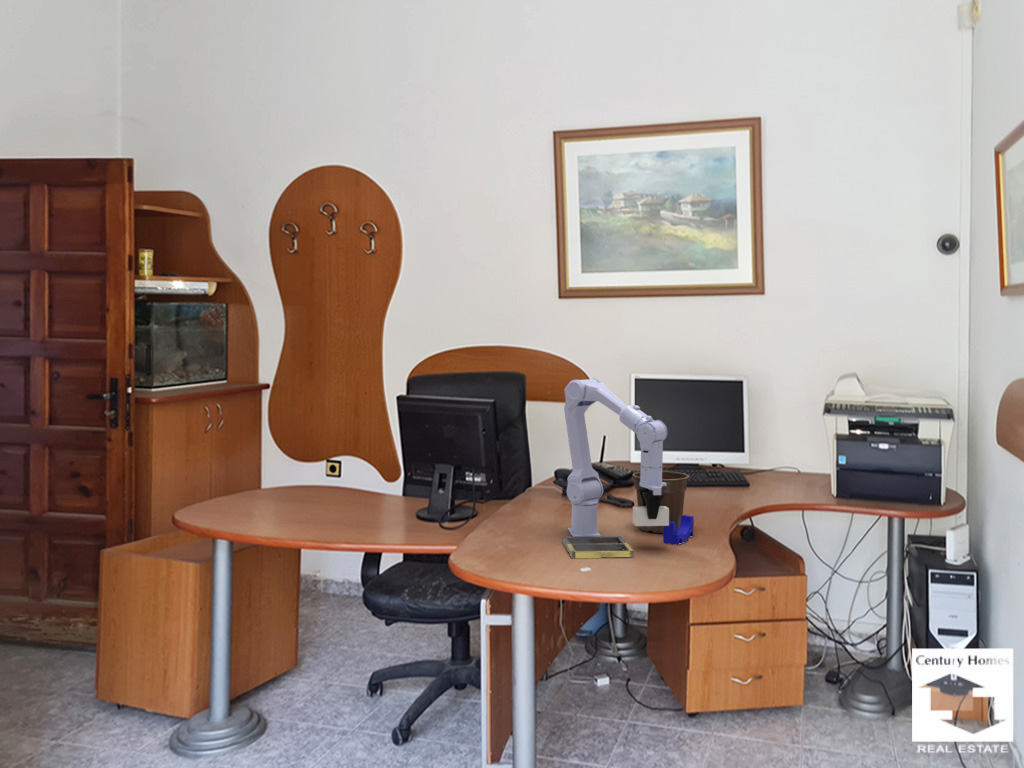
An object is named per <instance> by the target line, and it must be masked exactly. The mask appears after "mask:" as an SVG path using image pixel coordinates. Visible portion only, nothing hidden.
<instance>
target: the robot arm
mask: <svg viewBox="0 0 1024 768" xmlns="http://www.w3.org/2000/svg"><path fill="white" fill-rule="evenodd" d="M564 398H565V402H564V407H563V408H564V418H565V424H566V432H567V438H568V446H569V451H570V453H569V454H570V460H571V464H572V466H571V467H572V471H571V472H570V474H569V475H568V476H567V487H566V496H567V499H569V501H570V504H571V527H567V530H568V531H569V533H570V535H571V537H601V534H600V532H599V531H598V503H599V502H600V499H601V497H603V494H604V487H603V486H604V485H603V483H602V482H601V479H600V476H599V473H598V472H597V471H596V470H595V469H594V468H593V465H592V459H591V450H590V444H589V438H588V429H587V423H586V419H585V417H586V416H585V414H586V412H587V410H588V409H589V408H590V407H591V406H592V405H593V404H595V403H596V402H598V403H600V404H602V405H603V406H605V407H606V408H608V409H609V410H610V411H612V412H614V413H615V414H617V415H618V416H619V422H620V423H621V424H623V425H624V426H626V427H627V428H628V429H629V430H630V431H632V432H633V433H635V434H636V438H637V440H638V442H639V448H640V472H641V474H640V486H641V487H644V488H643V489H638V492H639V494H640V496H641V500H642V504H643V506H646V507H647V515H648V519H656V518H657V515H658V511H659V507H660V504H661V501H662V499H663V498H664V496H665V494H664V493H661V488H662V486H666V483H665V482H662V471H663V456H664V455H663V452H664V444H663V443H664V441H665V440H666V438H667V436H668V427H667V426H666V424H665V423H664V422H663V421H662V420H660V419H656V420H654V419H653V417H652V416H651V415H647V414H646V413H645V412H643V411H642V410H641V407H640V406H639V405H634V404H629V405H628V404H626V402H624V401H623V400H621V398H619V397H618V396H617V395H615V394H614V393H613V392H612V391H611V390H610V389H608V387H607V385H606V383H603V382H602V381H601V380H600V379H598V378H590V379H572V380H571V381H569V383H568V384H567V385H566V386H565V388H564Z"/></svg>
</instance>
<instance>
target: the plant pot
mask: <svg viewBox="0 0 1024 768" xmlns="http://www.w3.org/2000/svg"><path fill="white" fill-rule="evenodd" d="M640 474H641V471H638V472H634V473H632V478H633V481H634V487H635V488H634V489H635V490H636V491H635V492H636V501H637V502H636V503H637V507H643V504H642V500H641V496H640V494H639V492H638V489H643V488H644V487H641V486H640ZM689 478H690V475H689V474H687V473H684V472H678V471H669V470H667V471H666V470H662V482H665V483H666V486H662V488H661V493H664V494H665V496H664V498H663V499H662V501H661V504H660V506H666V507H667V508H669V521H670V522H676V528H677V531H678V529H679V527H680V524H681V518H682V515H684V514H683V512H684V505H685V504H684V503H685V497H686V496H685V493H686V490H687V486H688V479H689ZM638 528H639V529H640V530H641V531H643V532H647V533H648V532H653V534H663V529H664V526H638Z"/></svg>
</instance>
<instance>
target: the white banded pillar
mask: <svg viewBox="0 0 1024 768" xmlns="http://www.w3.org/2000/svg"><path fill="white" fill-rule="evenodd" d="M632 524H633V526H634V527H639V526H669V508H667V507H666V506H660V507H659V511H658V515H657V518H656V519H648V515H647V507H646V506H643V507H638V506H632Z"/></svg>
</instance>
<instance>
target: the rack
mask: <svg viewBox="0 0 1024 768" xmlns="http://www.w3.org/2000/svg"><path fill="white" fill-rule="evenodd" d="M603 542H604V543H603ZM605 542H618V543H605ZM563 543H564V544H563ZM562 544H563V545H565V546H564V548H565V549H566V551H567V552H569V553H568V554H570V555H569V557H570V556H571V557H570V559H602V558H601V557H634V555H635V554H634V553H635V552H634V549H632V547H631V545H630V544H628V542H626V541H625V540H624V539H623V538H622V536H617V535H616V536H614V535H613V536H591V537H573V536H562ZM618 549H624V550H618Z"/></svg>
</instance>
